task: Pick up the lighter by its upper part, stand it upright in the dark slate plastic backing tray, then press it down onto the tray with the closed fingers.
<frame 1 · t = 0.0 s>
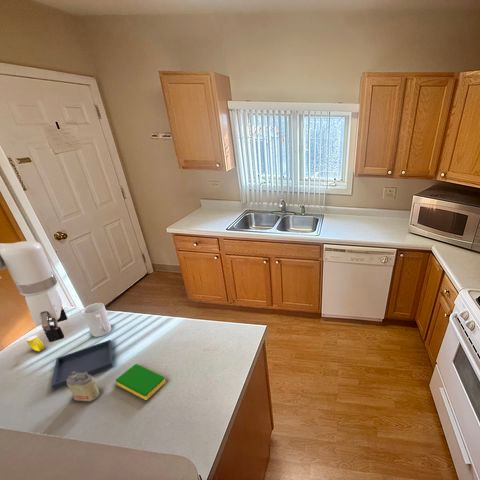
hand: (59, 329, 79), 20 cm above the counter, tool pointing down, fingers open, 9 cm apart
mug: (103, 333, 105), on the counter
backing tray: (85, 364, 91), on the counter
dish sponge: (141, 383, 86), on the counter
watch: (38, 350, 96), on the counter
lighter: (87, 395, 81), on the counter
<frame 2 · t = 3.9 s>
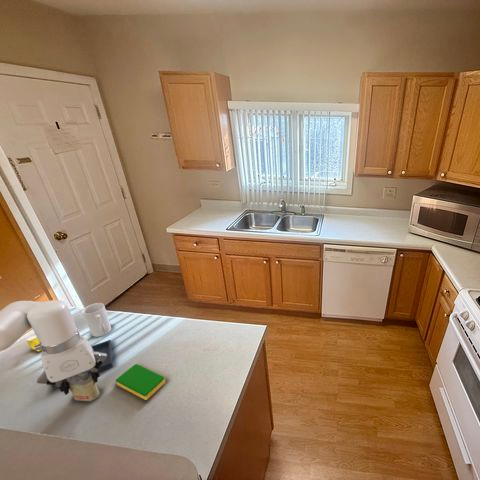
hand: (82, 384, 79), 5 cm above the counter, tool pointing down, fingers closed on lighter, 6 cm apart
lighter: (88, 395, 81), on the counter, touching gripper
everything else where it was.
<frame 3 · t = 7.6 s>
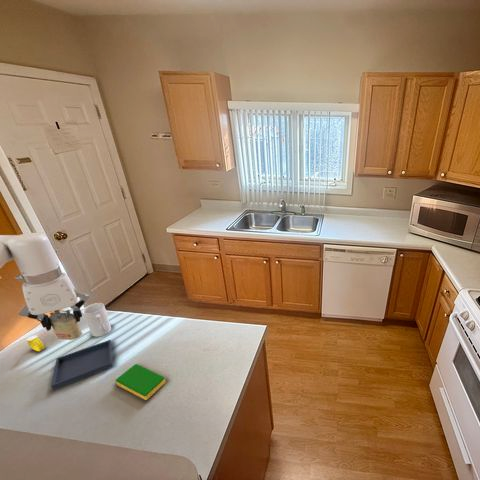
hand: (64, 323, 81), 21 cm above the counter, tool pointing down, fingers closed on lighter, 6 cm apart
lighter: (70, 335, 83), point 16 cm above the counter, touching gripper
everything else where it was.
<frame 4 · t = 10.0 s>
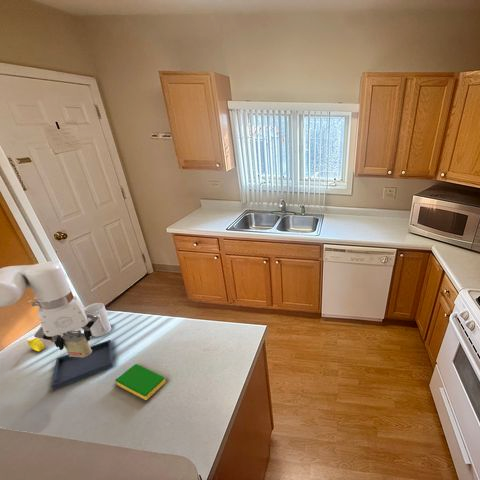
hand: (75, 342, 87), 11 cm above the counter, tool pointing down, fingers closed on lighter, 6 cm apart
lighter: (81, 353, 89), point 5 cm above the counter, touching gripper
everything else where it was.
when the fingers open (6 cm above the counter, at t = 11.7 s): lighter stays where it is, resting on backing tray.
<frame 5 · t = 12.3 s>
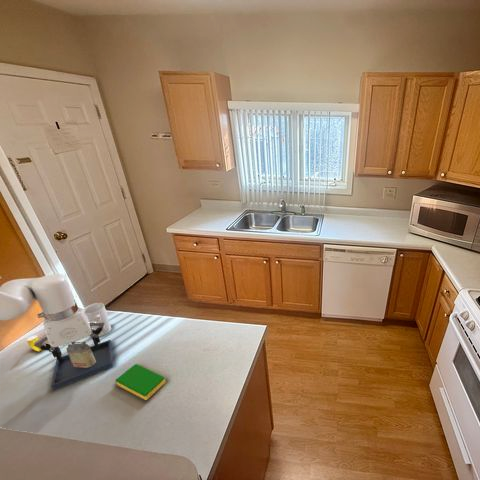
hand: (79, 350, 88), 7 cm above the counter, tool pointing down, fingers open, 9 cm apart
lighter: (85, 363, 91), resting on backing tray
everything else where it was.
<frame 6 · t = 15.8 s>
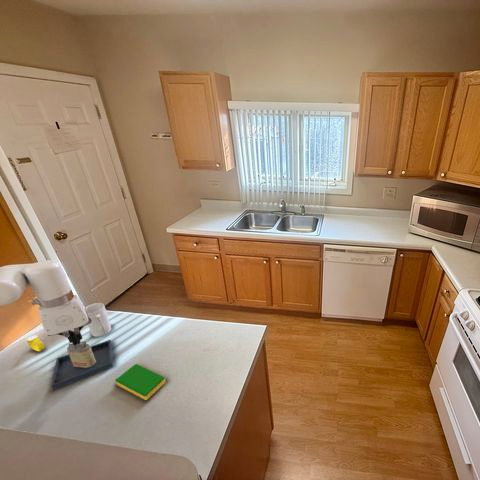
hand: (77, 341, 87), 11 cm above the counter, tool pointing down, fingers closed
lighter: (85, 363, 91), resting on backing tray, touching gripper
everything else where it was.
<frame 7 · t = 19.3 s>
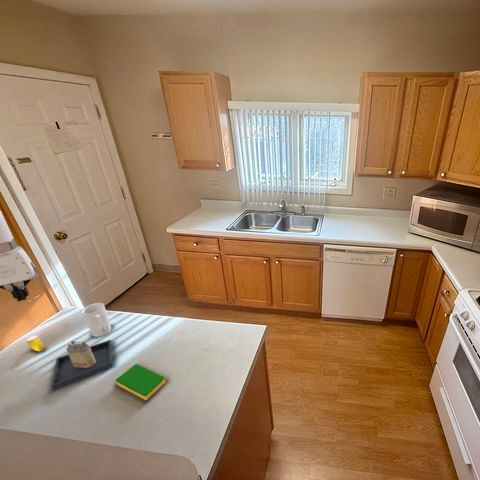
hand: (23, 298, 81), 27 cm above the counter, tool pointing down, fingers closed
lighter: (85, 363, 91), resting on backing tray
everything else where it was.
at the end: lighter inside the target area in the backing tray (0.1 cm from its centre), point 0.3 cm above the backing tray's base; lighter tilted 0°; the gripper is holding nothing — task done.
